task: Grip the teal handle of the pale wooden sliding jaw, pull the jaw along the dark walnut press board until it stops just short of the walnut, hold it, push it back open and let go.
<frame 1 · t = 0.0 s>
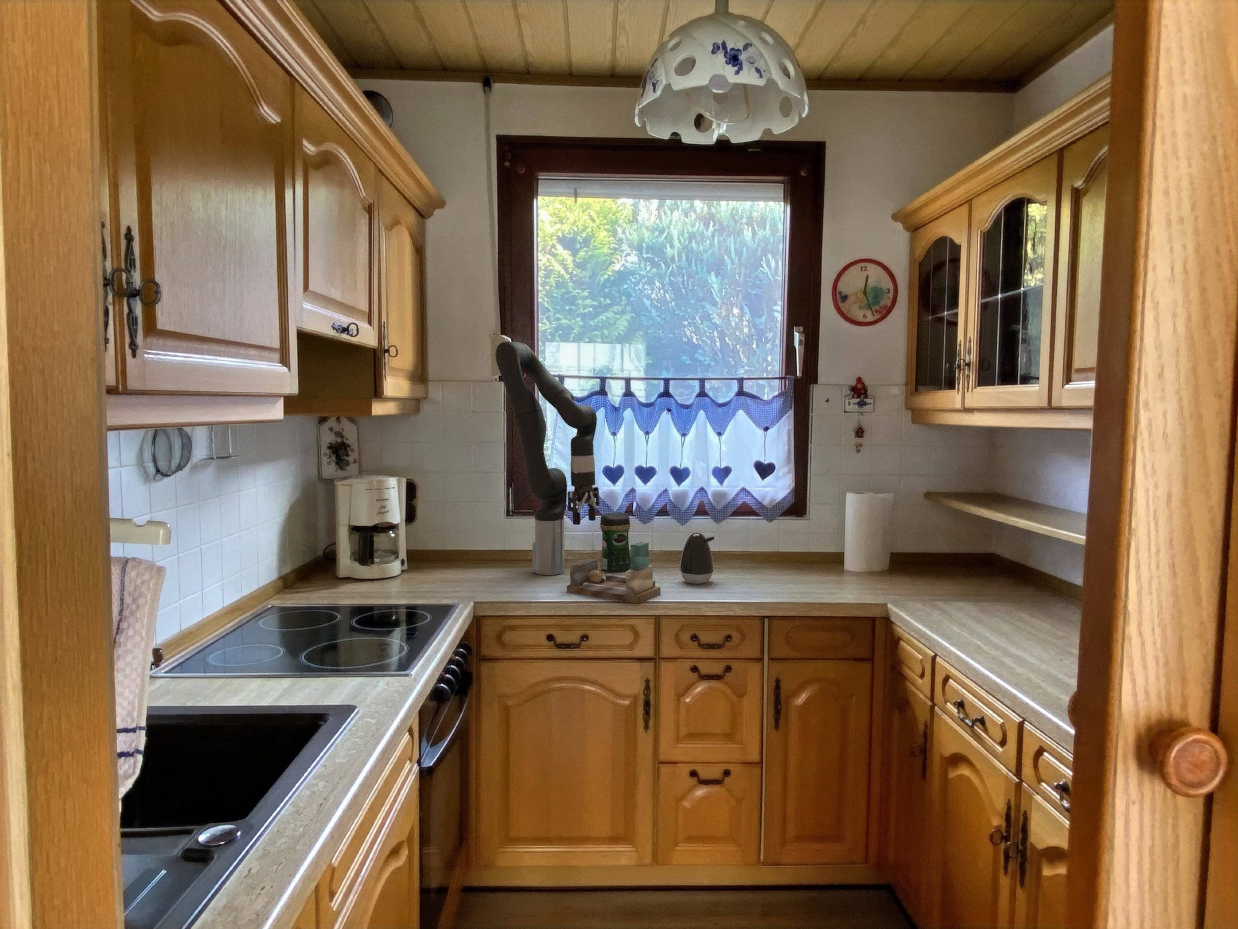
hand: (584, 522, 238), 17 cm above the worktop, tool pointing down, fingers open, 8 cm apart
pump dispenser: (696, 583, 233), on the worktop
coffee jar: (615, 570, 250), on the worktop
walnut: (595, 583, 224), point 2 cm above the worktop, touching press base
sliding jaw: (639, 566, 215), point 9 cm above the worktop, slide at 0.0 cm
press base: (613, 593, 221), on the worktop
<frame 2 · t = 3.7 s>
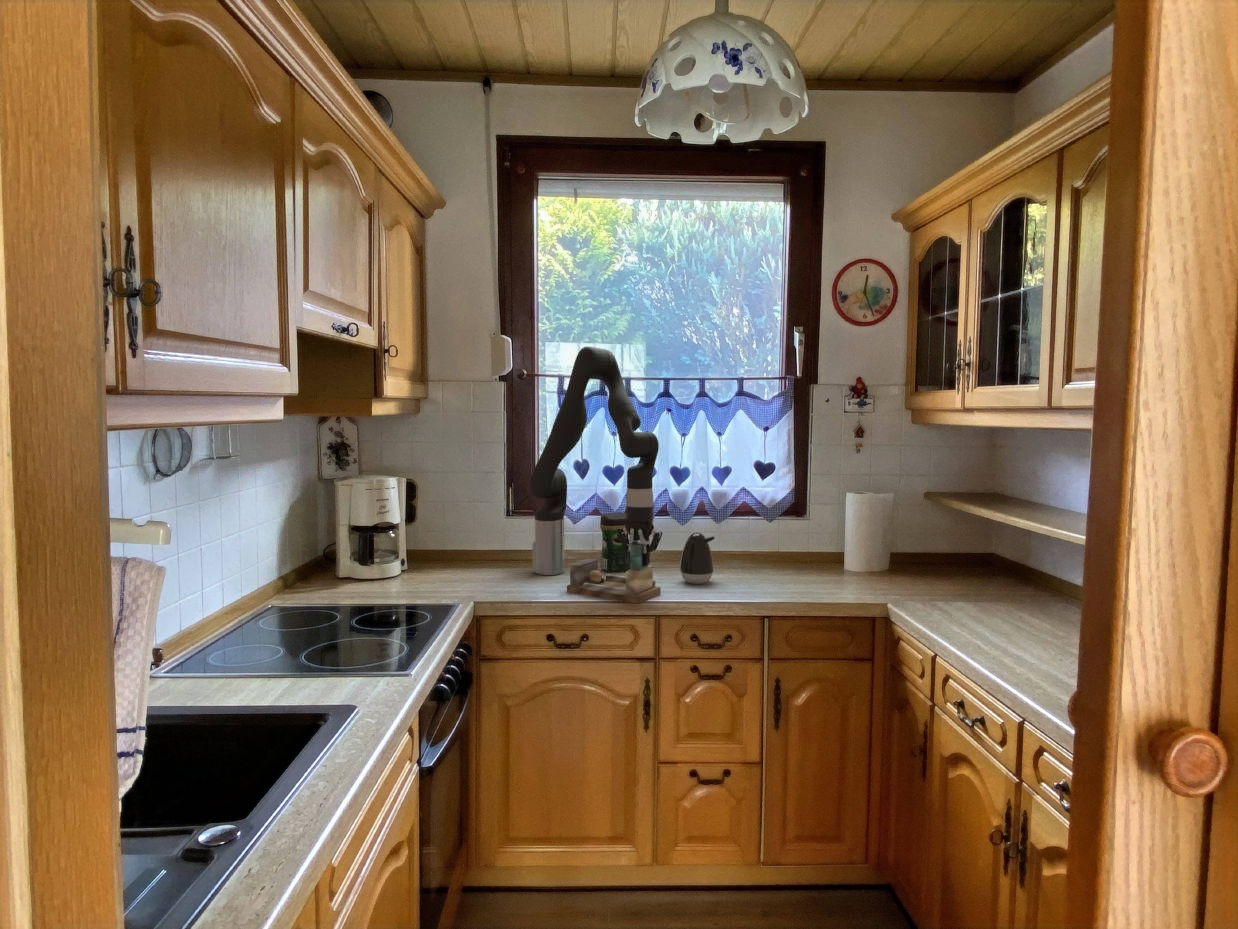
hand: (639, 565, 215), 9 cm above the worktop, tool pointing down, fingers closed on sliding jaw, 3 cm apart
sliding jaw: (639, 566, 215), point 9 cm above the worktop, slide at 0.0 cm, touching gripper
everything else where it was.
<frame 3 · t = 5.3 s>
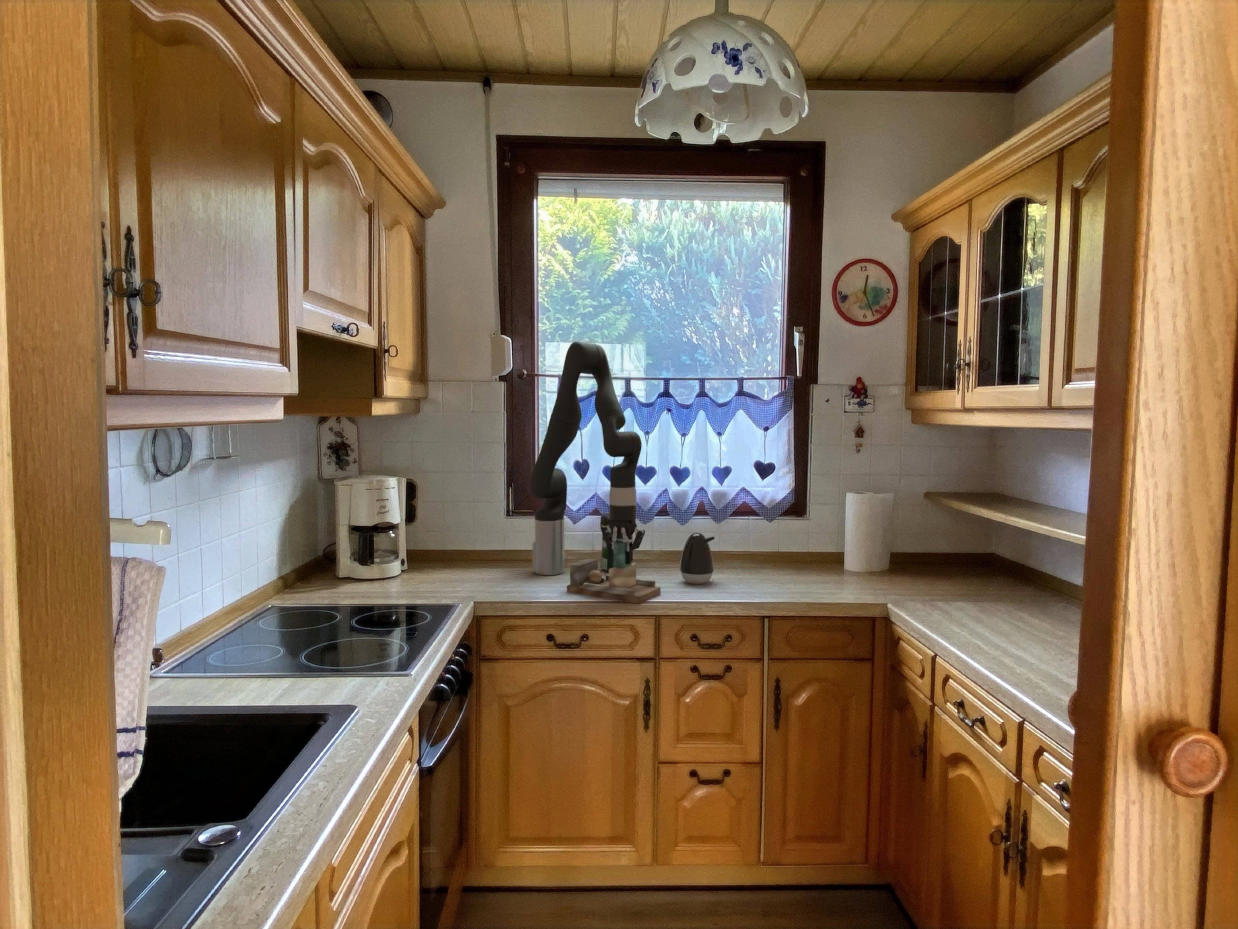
hand: (622, 562, 218), 9 cm above the worktop, tool pointing down, fingers closed on sliding jaw, 3 cm apart
sliding jaw: (622, 564, 218), point 9 cm above the worktop, slide at 5.4 cm, touching gripper
everything else where it was.
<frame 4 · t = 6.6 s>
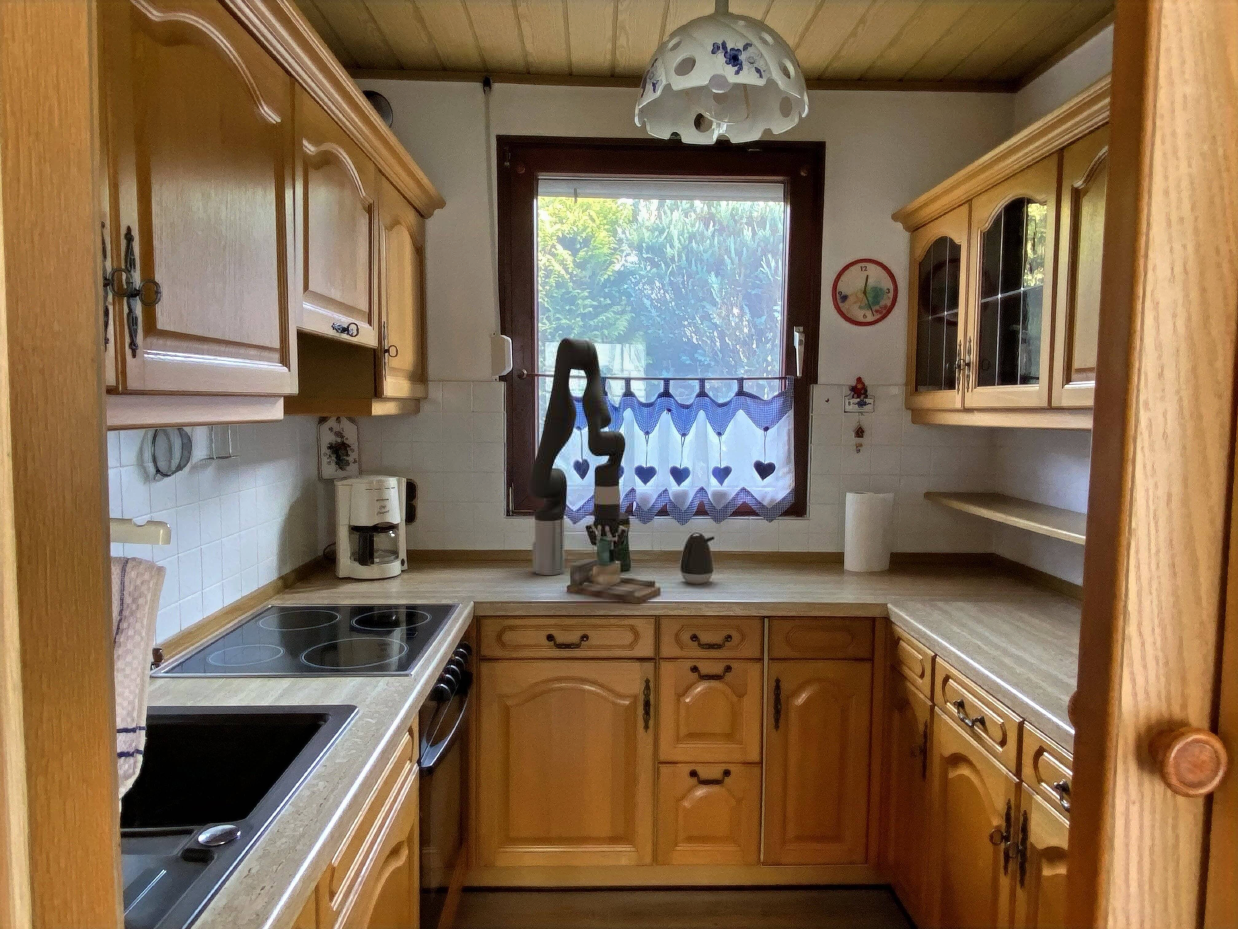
hand: (607, 560, 221), 9 cm above the worktop, tool pointing down, fingers closed on sliding jaw, 3 cm apart
sliding jaw: (606, 562, 221), point 9 cm above the worktop, slide at 10.7 cm, touching gripper
everything else where it was.
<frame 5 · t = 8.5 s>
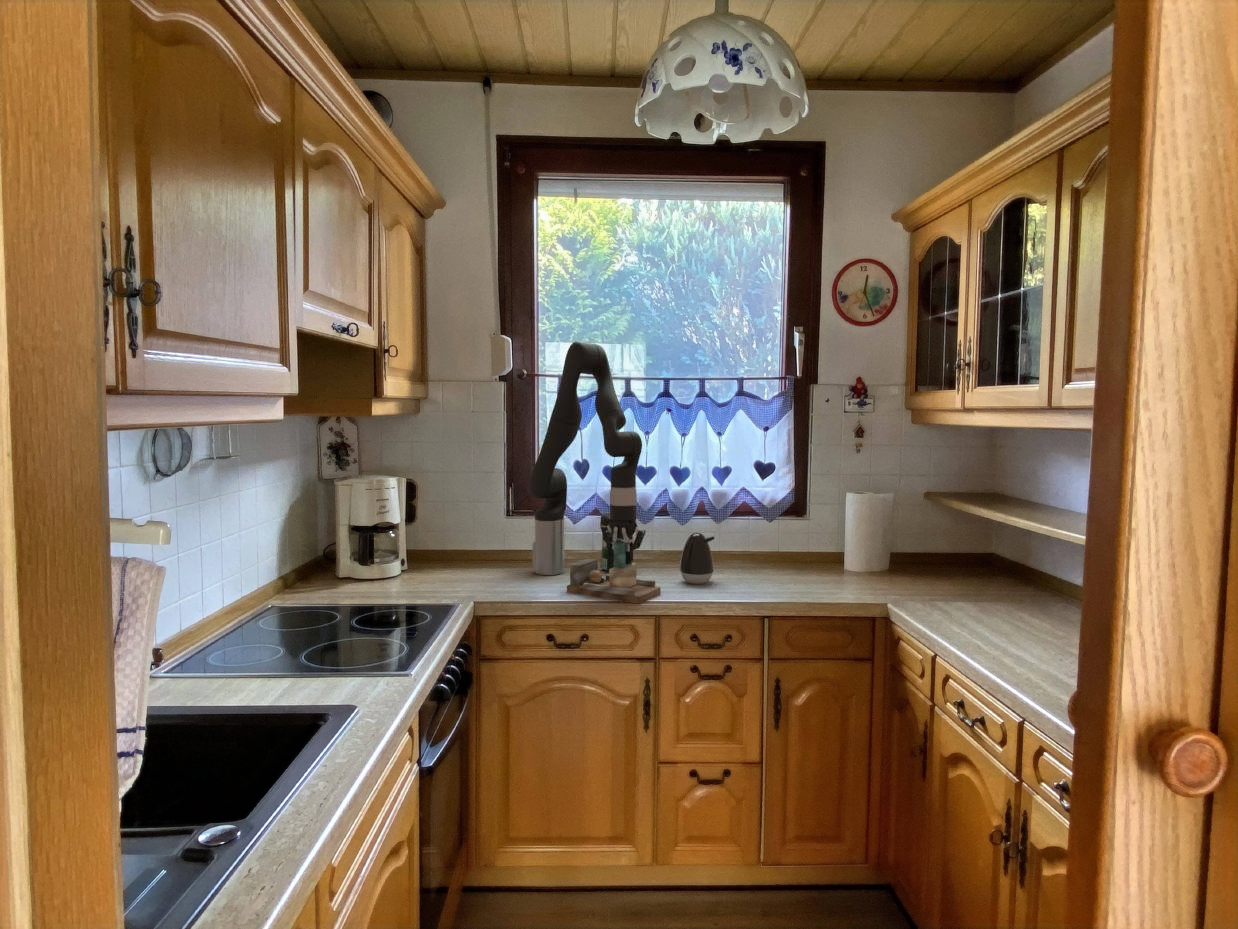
hand: (623, 563, 218), 9 cm above the worktop, tool pointing down, fingers closed on sliding jaw, 3 cm apart
sliding jaw: (623, 564, 218), point 9 cm above the worktop, slide at 5.3 cm, touching gripper
everything else where it was.
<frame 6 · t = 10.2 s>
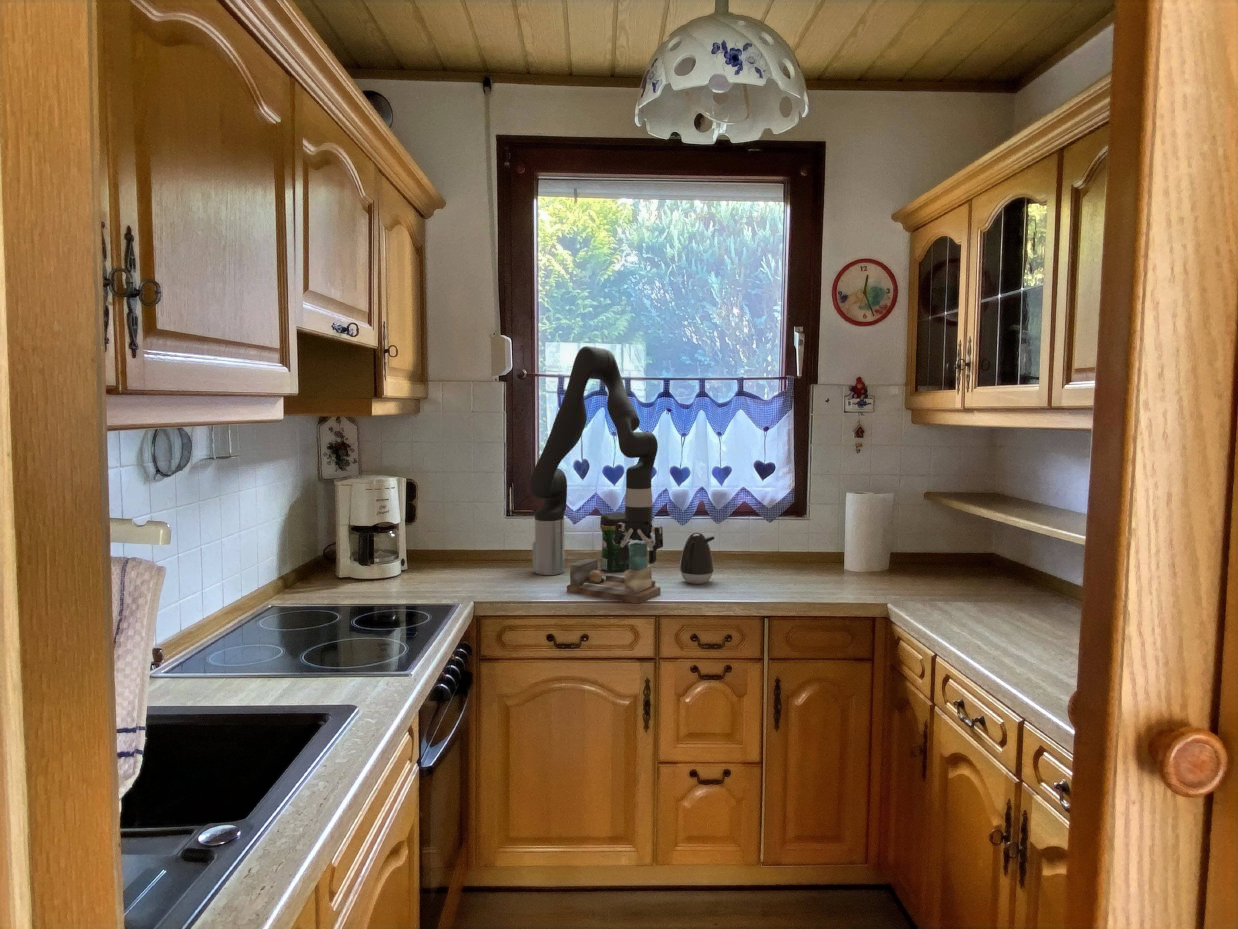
hand: (638, 561, 215), 10 cm above the worktop, tool pointing down, fingers open, 8 cm apart
sliding jaw: (638, 566, 216), point 9 cm above the worktop, slide at 0.4 cm
everything else where it was.
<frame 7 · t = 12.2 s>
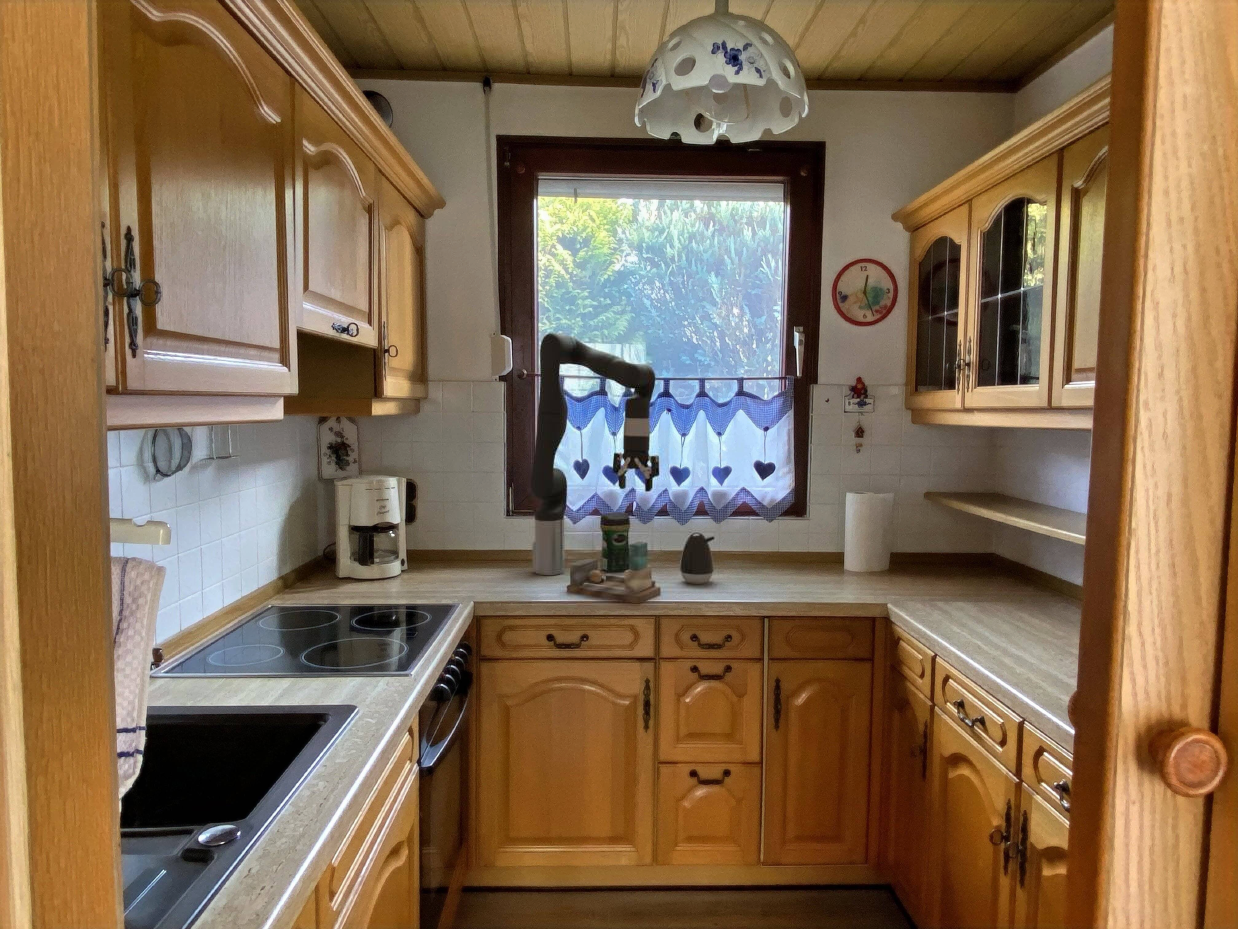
hand: (635, 490, 223), 29 cm above the worktop, tool pointing down, fingers open, 8 cm apart
nothing on the worktop moved.
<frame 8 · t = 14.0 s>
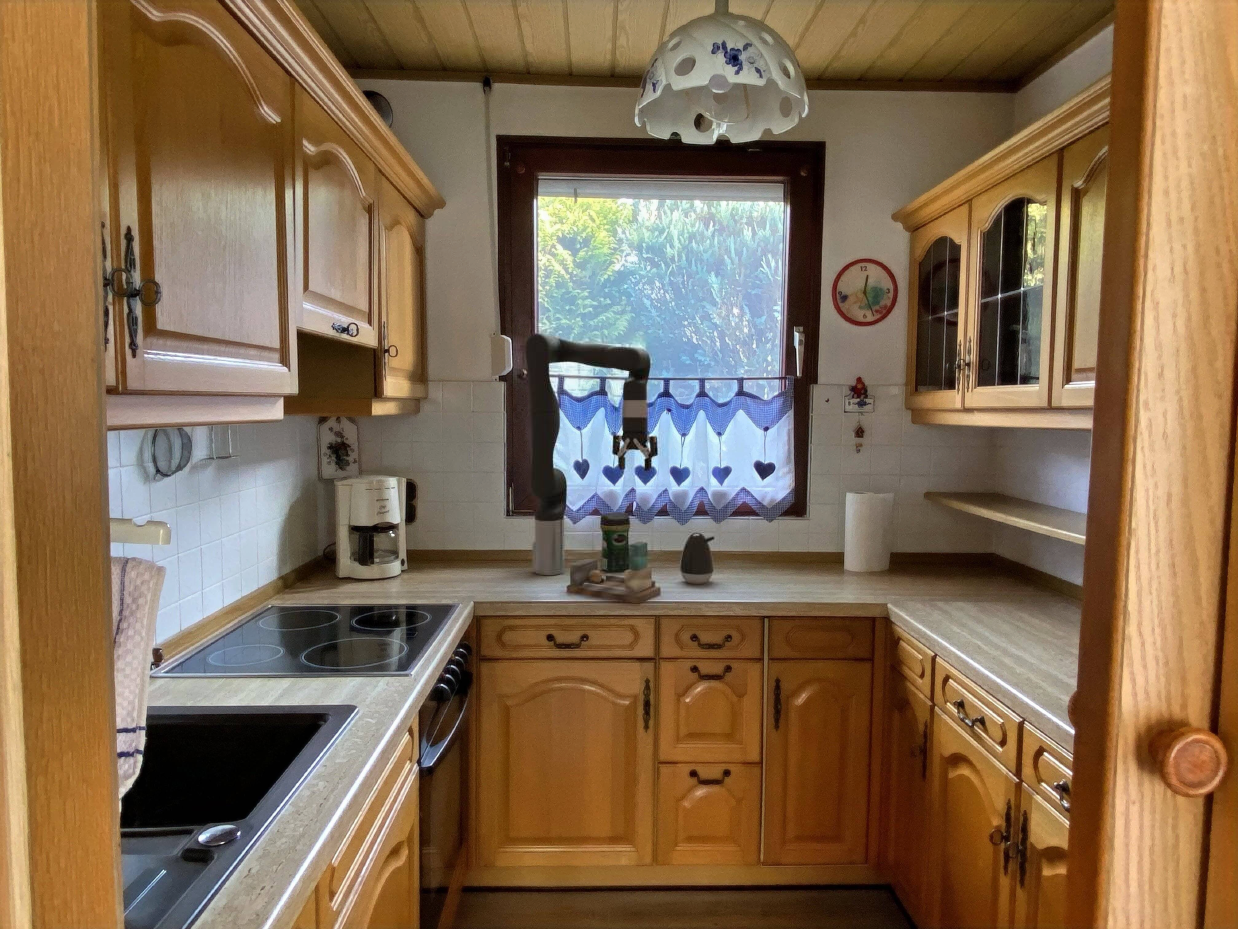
hand: (634, 470, 230), 34 cm above the worktop, tool pointing down, fingers open, 8 cm apart
nothing on the worktop moved.
at the end: sliding jaw slide at 0.4 cm; walnut moved 0.0 cm from its start; the gripper is holding nothing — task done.
